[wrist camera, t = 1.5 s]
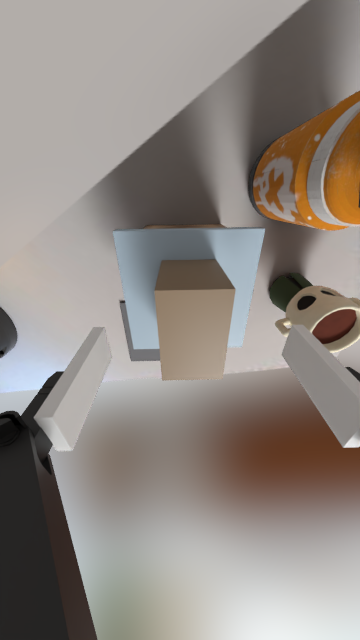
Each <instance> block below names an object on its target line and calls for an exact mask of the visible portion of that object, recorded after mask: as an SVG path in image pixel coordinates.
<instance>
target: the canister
mask: <svg viewBox="0 0 360 640" xmlns="http://www.w3.org/2000/svg"><path fill="white" fill-rule="evenodd" d="M249 197H250V200H251V203H252V205H253V207H254V209H255V210H256V211H257V212H258V213H259V214H260V215H262V216H263V217H266V218H269V219H274V220H279V221H283V222H288V223H293V224H298V225H303V226H307V227H312V228H317V229H322V230H340V229H344V228H347V227H359V226H360V91H358V92H356V93H354V94H353V95H351V96H349V97H348V98H346V99H344V100H343V101H341V102H339V103H338V104H336V105H334V106H333V107H331V108H329V109H327V110H326V111H324V112H322V113H321V114H319V115H317V116H316V117H314V118H312V119H311V120H309V121H307V122H306V123H304V124H302V125H300V126H299V127H297V128H295V129H294V130H292V131H290V132H289V133H287V134H285V135H284V136H282V137H280V138H279V139H277V140H275V141H273V142H272V143H271V144H270V145H268V146H267V147H266V148H265V149H264V151H263V152H262V153H261V154H260V156H259V157H258V159H257V160H256V162H255V164H254V166H253V169H252V172H251V175H250V180H249Z"/></svg>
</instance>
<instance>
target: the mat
mask: <svg viewBox="0 0 360 640" xmlns="http://www.w3.org/2000/svg"><path fill="white" fill-rule="evenodd" d="M120 306H121V312H122V317H123V322H124V327H125V332H126V337H127V342H128V347H129V352H130V358H131V361H161V360H160V349H134V348H133V342H132V337H131V331H130V326H129V320H128V314H127V309H126V303H125V302H120Z"/></svg>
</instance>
